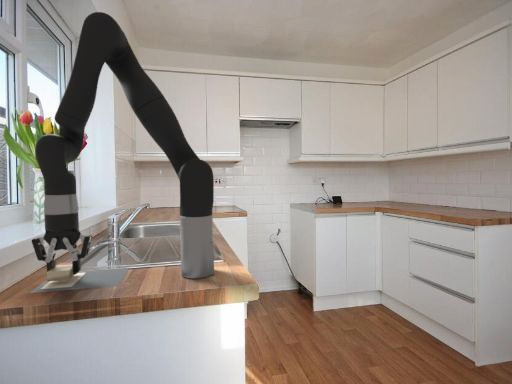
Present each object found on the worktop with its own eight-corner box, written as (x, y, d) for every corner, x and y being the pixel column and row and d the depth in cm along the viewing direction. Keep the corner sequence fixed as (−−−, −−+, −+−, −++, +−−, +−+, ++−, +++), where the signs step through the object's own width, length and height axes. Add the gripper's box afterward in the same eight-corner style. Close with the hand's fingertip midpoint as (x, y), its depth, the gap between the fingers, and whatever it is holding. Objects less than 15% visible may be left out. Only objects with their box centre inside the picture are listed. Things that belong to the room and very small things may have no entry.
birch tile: (68, 279, 75) (68, 270, 75) (46, 281, 74) (46, 272, 74) (80, 270, 83) (79, 261, 83) (60, 271, 82) (59, 263, 82)
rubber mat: (129, 269, 90) (129, 267, 90) (118, 287, 75) (118, 285, 75) (56, 274, 85) (56, 272, 85) (29, 295, 71) (28, 292, 70)
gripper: (22, 214, 72) (26, 281, 73) (86, 212, 76) (89, 276, 77) (37, 210, 80) (40, 272, 81) (95, 209, 83) (97, 268, 84)
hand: (64, 274), depth 79 cm, fingers closed on birch tile, 5 cm apart
